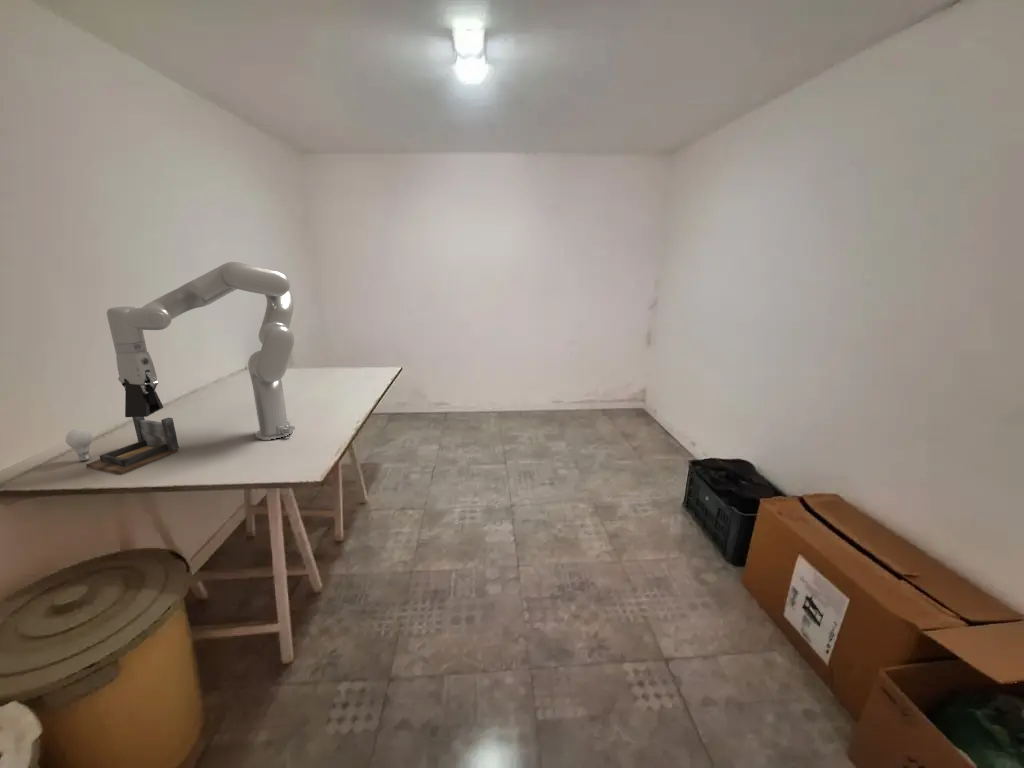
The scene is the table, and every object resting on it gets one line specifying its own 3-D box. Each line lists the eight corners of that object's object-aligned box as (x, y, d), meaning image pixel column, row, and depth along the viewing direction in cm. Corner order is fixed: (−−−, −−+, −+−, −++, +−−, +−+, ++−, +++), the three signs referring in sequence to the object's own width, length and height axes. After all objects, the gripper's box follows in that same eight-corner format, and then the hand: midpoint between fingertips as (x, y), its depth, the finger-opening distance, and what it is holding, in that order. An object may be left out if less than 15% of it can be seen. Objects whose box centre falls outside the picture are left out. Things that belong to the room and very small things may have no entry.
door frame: (179, 451, 160) (172, 418, 157) (121, 474, 143) (112, 438, 140) (146, 445, 165) (139, 413, 162) (86, 467, 148) (77, 431, 145)
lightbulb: (71, 460, 153) (62, 429, 150) (97, 454, 157) (88, 424, 154) (72, 466, 148) (63, 434, 145) (98, 460, 153) (90, 429, 150)
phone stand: (146, 417, 144) (138, 379, 141) (125, 417, 143) (116, 380, 140) (163, 407, 153) (156, 372, 149) (143, 408, 152) (135, 372, 149)
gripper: (163, 347, 143) (175, 403, 148) (123, 343, 148) (135, 397, 153) (138, 352, 137) (151, 410, 141) (97, 348, 141) (110, 404, 146)
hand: (143, 403), depth 147 cm, fingers closed on phone stand, 6 cm apart
